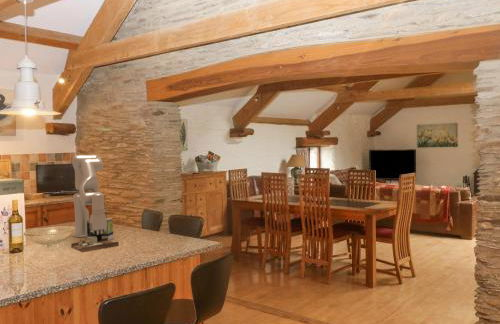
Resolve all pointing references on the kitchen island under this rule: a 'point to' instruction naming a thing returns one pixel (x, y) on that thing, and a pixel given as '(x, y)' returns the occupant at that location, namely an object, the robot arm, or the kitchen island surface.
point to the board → (104, 241)
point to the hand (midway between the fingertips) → (99, 240)
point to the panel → (94, 242)
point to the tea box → (107, 233)
